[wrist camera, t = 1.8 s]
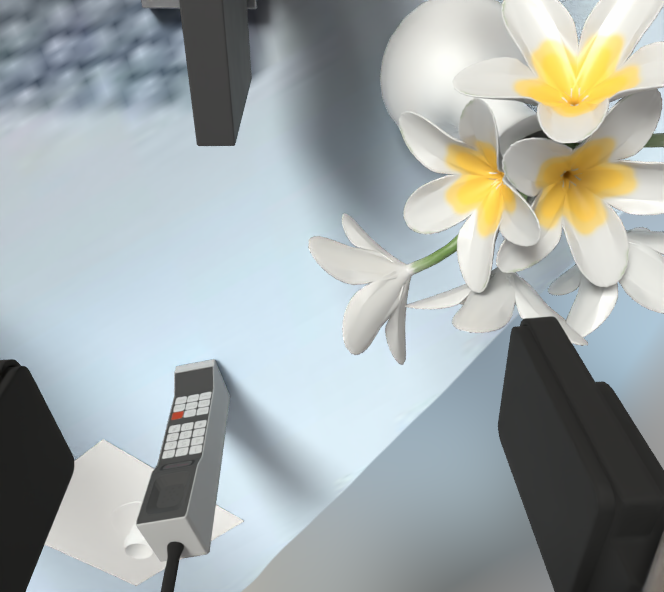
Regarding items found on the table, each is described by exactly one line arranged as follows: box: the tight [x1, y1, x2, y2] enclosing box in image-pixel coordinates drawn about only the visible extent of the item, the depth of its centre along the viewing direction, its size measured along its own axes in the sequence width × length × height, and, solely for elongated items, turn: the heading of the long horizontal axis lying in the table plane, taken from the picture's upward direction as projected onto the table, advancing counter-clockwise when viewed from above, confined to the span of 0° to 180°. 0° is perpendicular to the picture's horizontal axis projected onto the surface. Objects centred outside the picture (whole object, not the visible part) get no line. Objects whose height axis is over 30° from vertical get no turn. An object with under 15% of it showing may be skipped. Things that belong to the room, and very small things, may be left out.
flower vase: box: [308, 0, 664, 365], centre depth 29 cm, size 13×18×25 cm
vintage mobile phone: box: [136, 359, 230, 592], centre depth 44 cm, size 4×5×25 cm
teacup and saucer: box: [110, 500, 154, 560], centre depth 64 cm, size 9×8×4 cm
